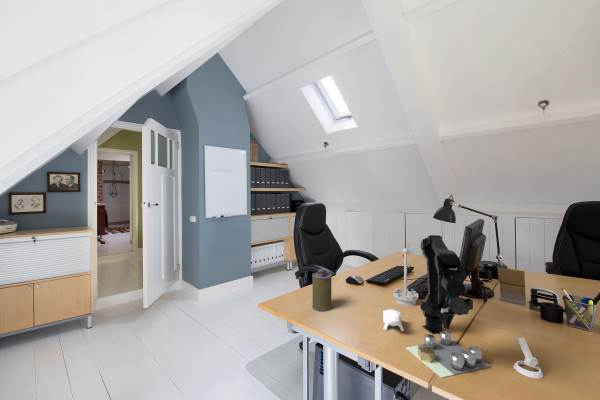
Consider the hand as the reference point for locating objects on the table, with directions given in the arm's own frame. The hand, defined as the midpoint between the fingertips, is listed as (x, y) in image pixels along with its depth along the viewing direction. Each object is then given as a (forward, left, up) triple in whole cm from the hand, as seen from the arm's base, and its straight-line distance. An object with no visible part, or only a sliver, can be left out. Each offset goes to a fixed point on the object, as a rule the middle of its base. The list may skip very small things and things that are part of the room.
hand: (446, 328), depth 101 cm
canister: (-53, -29, -10) cm, 62 cm away
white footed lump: (-24, -7, -10) cm, 27 cm away
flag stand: (-47, +18, -10) cm, 51 cm away
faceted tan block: (0, -9, -10) cm, 13 cm away
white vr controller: (+15, +20, -10) cm, 27 cm away
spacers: (+1, +2, -10) cm, 10 cm away
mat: (+1, -1, -10) cm, 10 cm away
